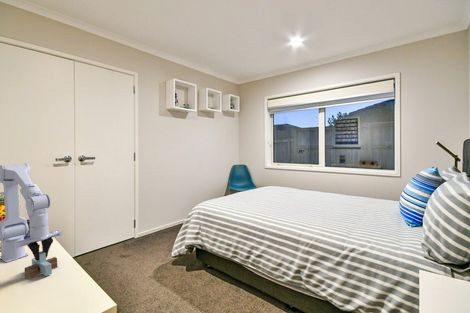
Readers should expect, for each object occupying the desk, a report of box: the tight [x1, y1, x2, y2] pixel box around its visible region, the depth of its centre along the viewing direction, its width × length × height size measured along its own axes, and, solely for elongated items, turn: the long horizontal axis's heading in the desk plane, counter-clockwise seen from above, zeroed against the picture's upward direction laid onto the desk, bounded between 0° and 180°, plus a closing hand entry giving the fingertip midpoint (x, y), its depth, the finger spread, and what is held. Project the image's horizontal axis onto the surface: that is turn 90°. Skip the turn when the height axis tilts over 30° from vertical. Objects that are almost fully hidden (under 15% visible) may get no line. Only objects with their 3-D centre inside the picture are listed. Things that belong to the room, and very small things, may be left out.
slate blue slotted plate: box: [31, 250, 53, 277], centre depth 93 cm, size 12×2×8 cm, turn 60°
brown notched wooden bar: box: [24, 256, 58, 280], centre depth 94 cm, size 2×10×4 cm, turn 151°
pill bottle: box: [24, 219, 30, 239], centre depth 128 cm, size 6×6×11 cm
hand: (41, 258), depth 93 cm, fingers closed on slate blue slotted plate, 2 cm apart
